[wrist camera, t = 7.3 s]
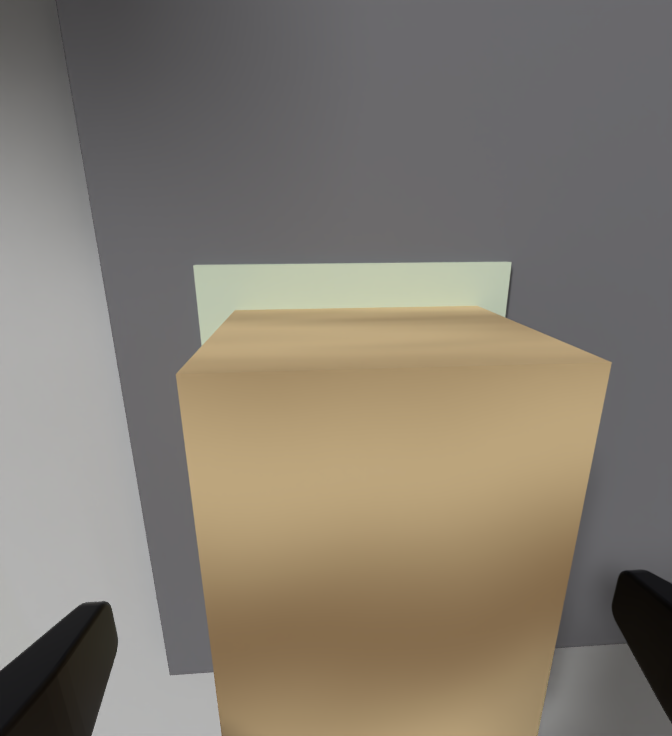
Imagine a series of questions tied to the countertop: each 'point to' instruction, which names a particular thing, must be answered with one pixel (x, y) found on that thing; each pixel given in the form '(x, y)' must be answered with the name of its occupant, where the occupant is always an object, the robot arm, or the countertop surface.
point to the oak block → (386, 515)
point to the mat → (386, 217)
